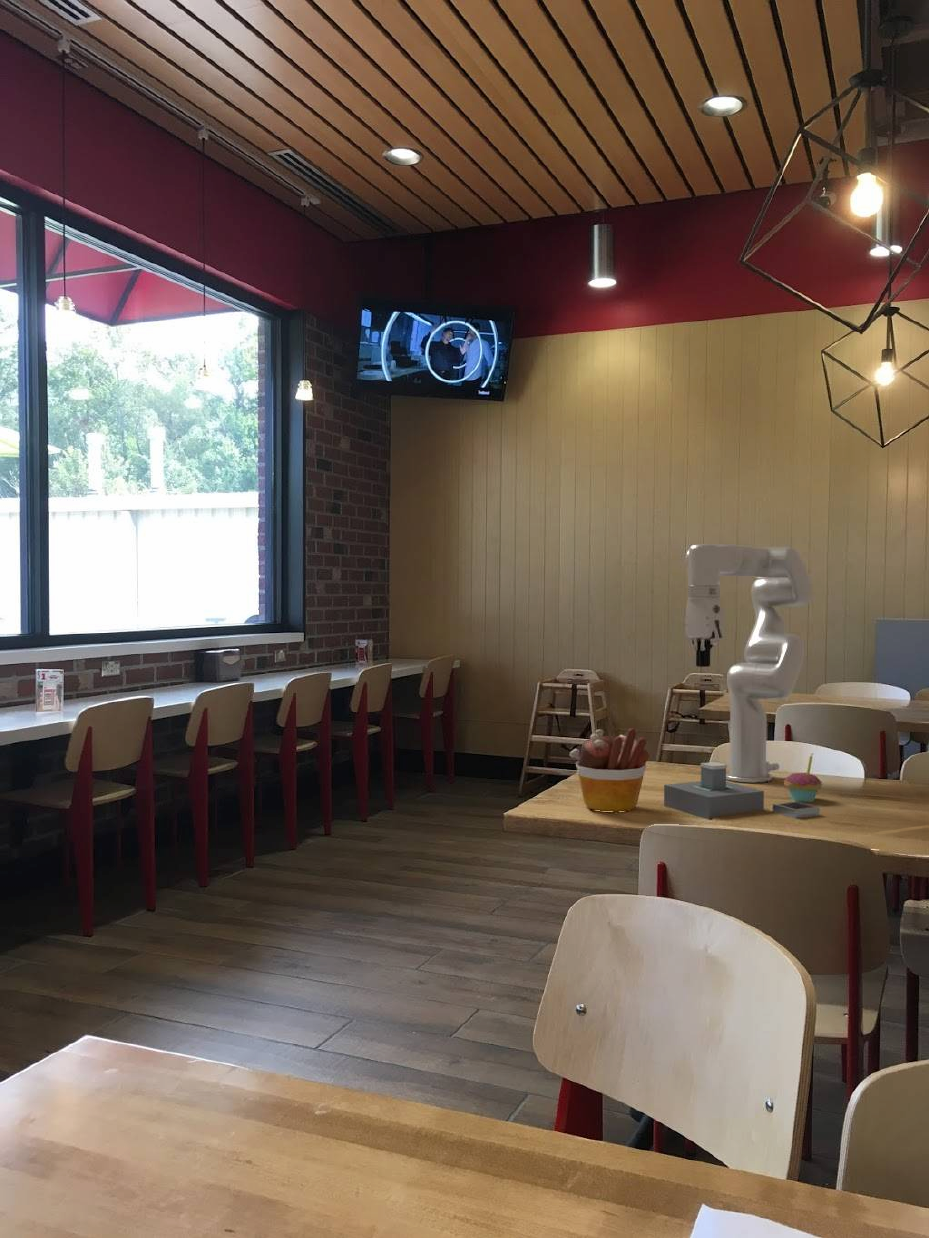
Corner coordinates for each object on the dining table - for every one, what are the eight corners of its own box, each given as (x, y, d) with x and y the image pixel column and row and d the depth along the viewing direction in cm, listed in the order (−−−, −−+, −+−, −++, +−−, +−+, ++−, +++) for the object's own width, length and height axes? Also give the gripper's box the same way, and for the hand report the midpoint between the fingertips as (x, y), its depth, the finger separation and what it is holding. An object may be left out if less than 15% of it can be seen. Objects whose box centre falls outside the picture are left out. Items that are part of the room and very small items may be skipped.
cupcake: (821, 799, 244) (821, 751, 244) (821, 806, 236) (822, 756, 236) (784, 797, 247) (784, 749, 247) (783, 804, 239) (784, 754, 239)
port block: (717, 799, 244) (717, 778, 244) (763, 812, 230) (763, 790, 229) (664, 805, 237) (664, 783, 237) (708, 819, 222) (709, 796, 222)
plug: (714, 802, 236) (714, 762, 236) (726, 805, 232) (726, 764, 232) (700, 804, 234) (700, 763, 234) (712, 807, 230) (712, 766, 230)
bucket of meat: (560, 802, 240) (560, 720, 240) (620, 797, 246) (620, 717, 246) (601, 820, 221) (602, 731, 221) (665, 814, 228) (665, 727, 227)
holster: (796, 811, 231) (796, 801, 231) (819, 817, 224) (819, 807, 224) (772, 814, 228) (772, 804, 228) (795, 821, 221) (795, 810, 221)
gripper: (735, 593, 246) (735, 668, 246) (696, 593, 259) (695, 664, 260) (711, 593, 242) (711, 668, 243) (672, 593, 256) (672, 664, 256)
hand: (703, 666), depth 251 cm, fingers closed
